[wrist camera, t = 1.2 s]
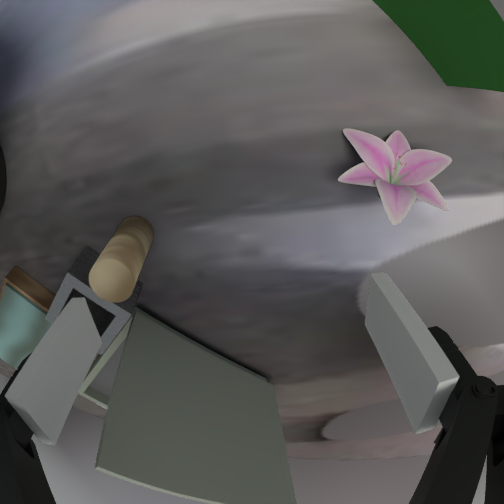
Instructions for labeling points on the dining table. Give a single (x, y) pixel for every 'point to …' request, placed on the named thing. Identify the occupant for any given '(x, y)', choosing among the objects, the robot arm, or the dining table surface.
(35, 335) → the teal lined wooden tray
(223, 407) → the case
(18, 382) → the robot arm
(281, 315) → the dining table surface
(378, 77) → the dining table surface
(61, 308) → the silver square holder
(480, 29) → the hardback book
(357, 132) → the lily
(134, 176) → the dining table surface
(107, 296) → the beige rounded cylinder
